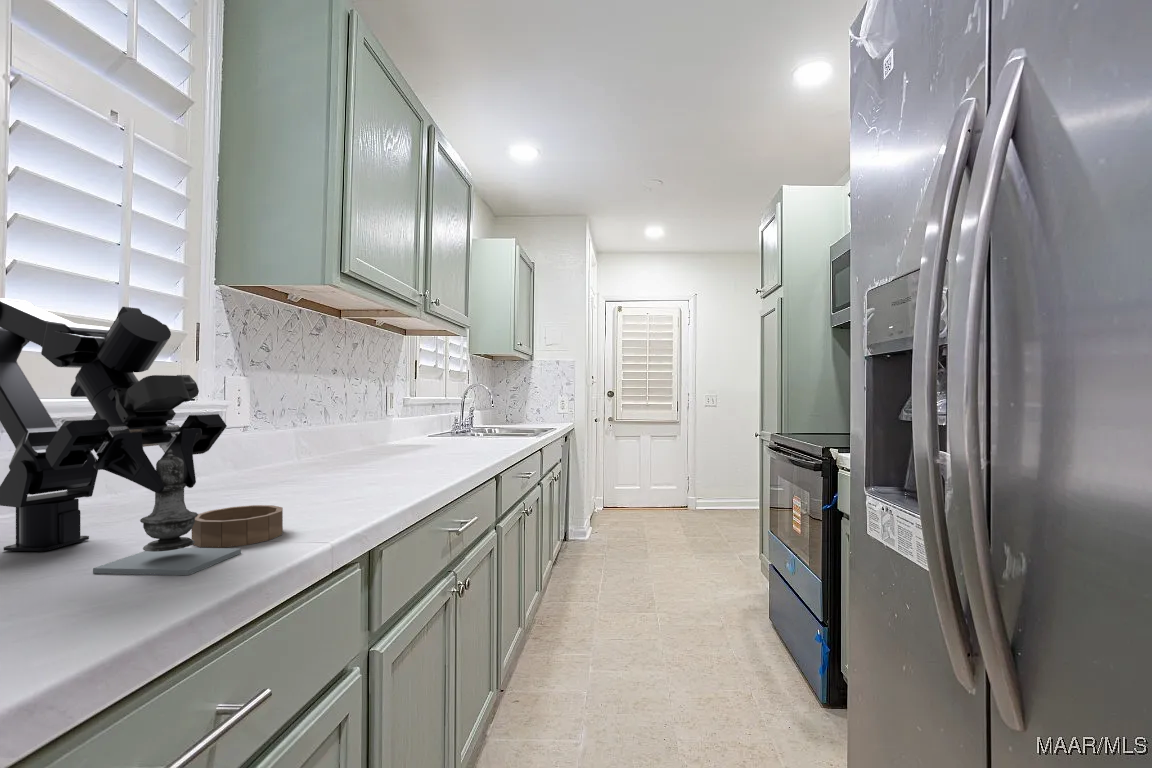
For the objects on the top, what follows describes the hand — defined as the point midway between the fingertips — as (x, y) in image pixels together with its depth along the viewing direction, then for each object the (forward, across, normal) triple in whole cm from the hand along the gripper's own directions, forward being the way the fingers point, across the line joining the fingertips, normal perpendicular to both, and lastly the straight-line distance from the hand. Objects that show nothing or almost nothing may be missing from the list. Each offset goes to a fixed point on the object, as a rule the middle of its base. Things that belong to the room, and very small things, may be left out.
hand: (177, 488), depth 71 cm
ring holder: (+4, +12, +10) cm, 16 cm away
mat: (+6, 0, +7) cm, 9 cm away
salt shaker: (+4, 0, +6) cm, 8 cm away
